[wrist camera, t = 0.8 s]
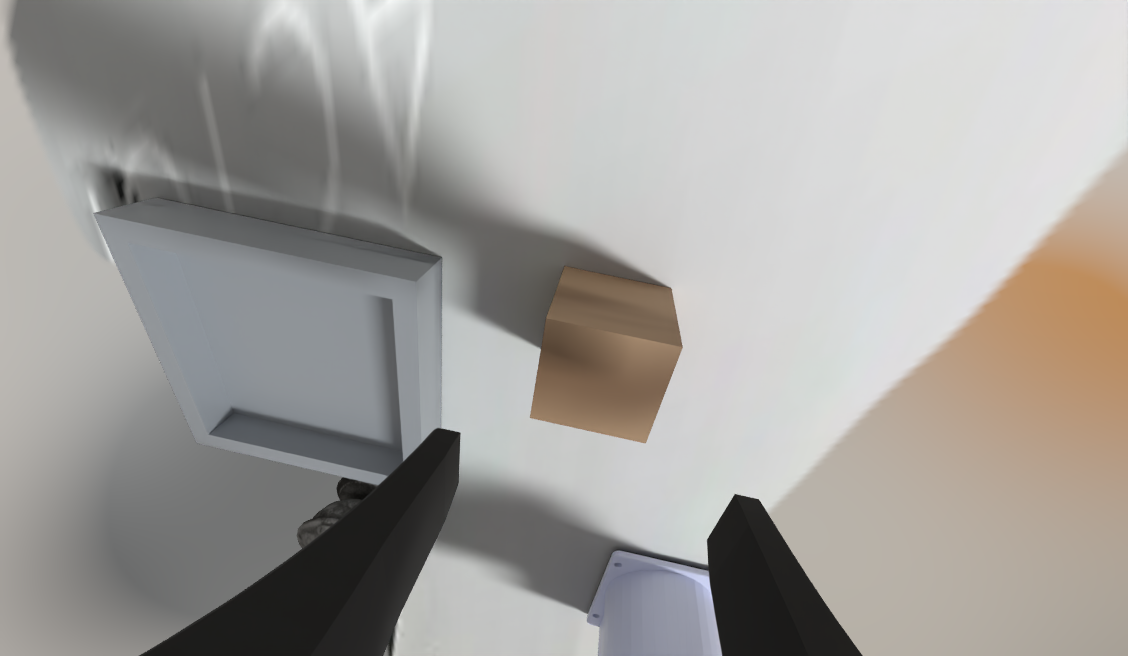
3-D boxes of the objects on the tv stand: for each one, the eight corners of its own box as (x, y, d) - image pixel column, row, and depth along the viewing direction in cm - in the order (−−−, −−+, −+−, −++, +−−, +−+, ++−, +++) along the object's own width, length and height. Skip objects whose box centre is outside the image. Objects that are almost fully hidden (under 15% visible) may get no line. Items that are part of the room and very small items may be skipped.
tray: (441, 459, 25) (423, 495, 22) (233, 412, 25) (196, 443, 23) (442, 257, 18) (416, 281, 16) (155, 197, 18) (93, 213, 16)
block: (642, 371, 20) (645, 443, 16) (549, 352, 20) (529, 417, 16) (671, 287, 17) (682, 347, 13) (564, 265, 17) (546, 318, 13)
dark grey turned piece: (363, 456, 26) (185, 707, 15) (435, 508, 27) (319, 764, 17) (317, 490, 28) (139, 724, 18) (386, 536, 30) (259, 772, 20)
